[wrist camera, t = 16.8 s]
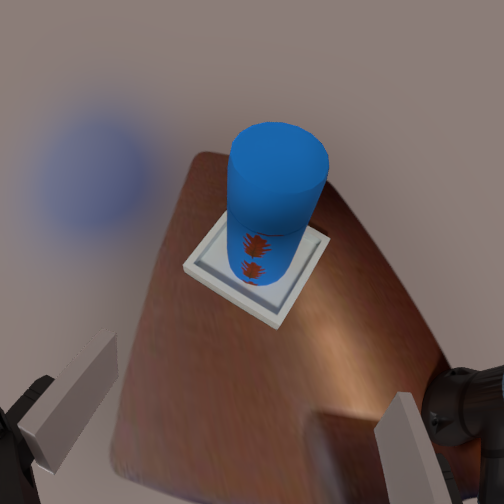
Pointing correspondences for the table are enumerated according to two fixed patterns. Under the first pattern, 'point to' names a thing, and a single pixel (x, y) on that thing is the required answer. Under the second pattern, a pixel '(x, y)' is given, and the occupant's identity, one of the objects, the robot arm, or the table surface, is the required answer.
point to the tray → (246, 295)
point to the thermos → (271, 198)
